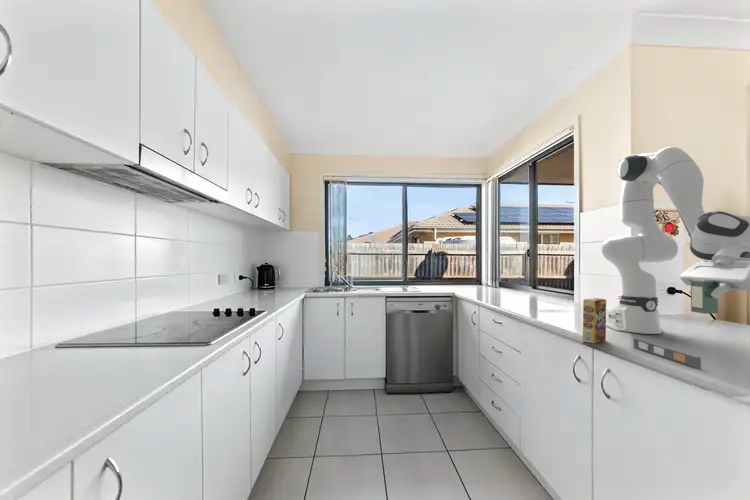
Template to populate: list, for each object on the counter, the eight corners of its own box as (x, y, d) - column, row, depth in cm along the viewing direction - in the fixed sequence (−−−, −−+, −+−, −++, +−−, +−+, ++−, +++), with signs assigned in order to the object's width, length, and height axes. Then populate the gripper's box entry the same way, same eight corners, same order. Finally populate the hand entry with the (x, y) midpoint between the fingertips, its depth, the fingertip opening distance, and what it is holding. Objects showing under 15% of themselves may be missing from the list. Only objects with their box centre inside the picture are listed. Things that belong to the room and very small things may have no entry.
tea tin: (690, 311, 104) (690, 279, 104) (704, 311, 104) (703, 279, 104) (704, 313, 100) (703, 280, 100) (718, 313, 100) (717, 280, 100)
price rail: (633, 347, 119) (633, 338, 119) (637, 347, 119) (637, 338, 119) (695, 368, 97) (695, 357, 97) (700, 368, 97) (700, 357, 97)
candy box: (595, 344, 123) (594, 300, 123) (582, 341, 127) (581, 299, 127) (607, 340, 128) (606, 298, 128) (594, 338, 131) (594, 297, 132)
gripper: (692, 254, 113) (663, 284, 112) (765, 253, 93) (731, 291, 92) (705, 268, 113) (677, 298, 113) (782, 270, 93) (747, 308, 92)
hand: (702, 295), depth 102 cm, fingers closed on tea tin, 4 cm apart
